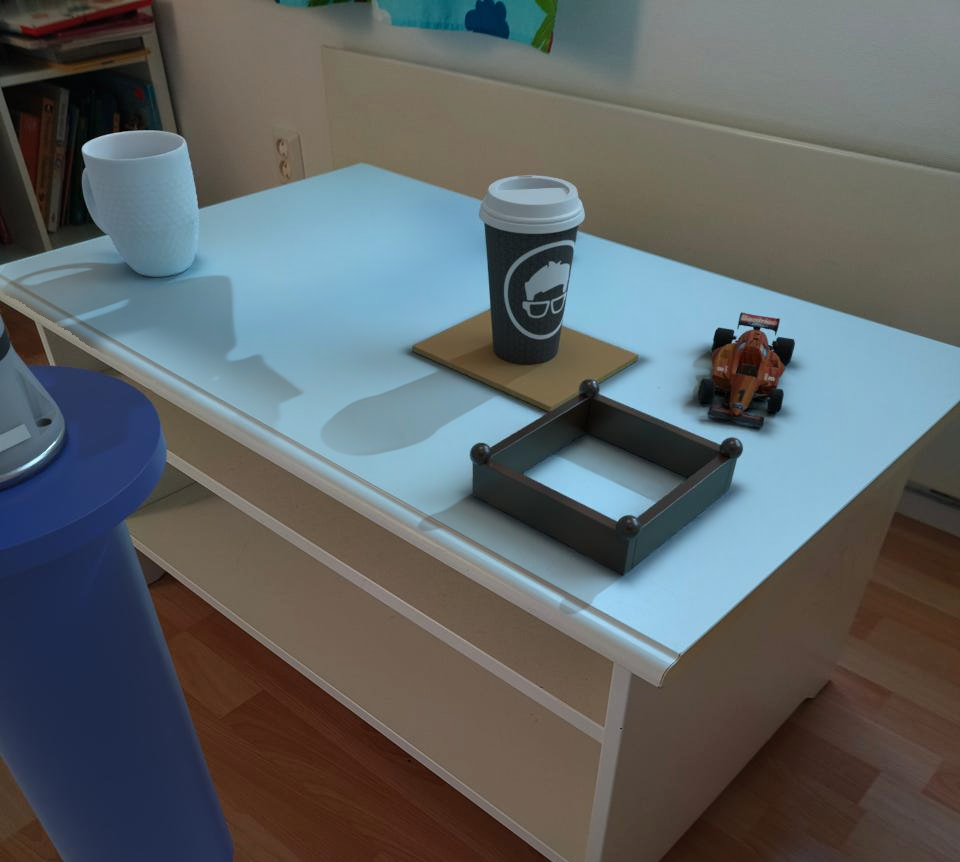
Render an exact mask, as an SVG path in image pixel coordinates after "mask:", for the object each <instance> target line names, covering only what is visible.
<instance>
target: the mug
mask: <svg viewBox="0 0 960 862" xmlns="http://www.w3.org/2000/svg"><path fill="white" fill-rule="evenodd" d="M81 154H82V158H83V162H84V166H85V167H84V169H83V170H82V175H81V188H82V194H83V198H84V202H85V205H86V208H87V210H88V213H89V216H90V217H91V219H92V220H93V223H95V225H96V226H97V227H98V228H99V229H100V230H101V232H102V233H104V234H105V235H107V236H108V237H109V238H110V240H111V242H112V244H113V246H114V247H115V250H117V252H118V254H119V256H120V257H122V259H123V261H124V262H125V263H126V264H127V265H128V266H129V267H130V268H131V269H132V270H133V271H134V272H136V273H137V274H139V275H141V276H145V277H152V278H160V277H161V278H162V277H169V276H173V275H178V274H180V273H183V272H185V271H186V270H189V268H190V267H191V266H192V264H193V262H194V259H195V257H196V253H197V250H198V243H199V235H200V214H199V212H200V209H199V202H198V195H197V188H196V182H195V179H194V173H193V168H192V162H191V159H190V154H189V148H188V144H187V141H186V139H185V138H184V137H183V136H181V135H180V134H177V133H174V132H170V131H163V130H153V129H152V130H147V129H146V130H145V129H144V130H128V131H121V132H113V133H108V134H105V135H101V136H98V137H95V138H93V139H90V140H88V141H87V142H85V143H84V144H83V145H82V147H81Z"/></svg>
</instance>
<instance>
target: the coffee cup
mask: <svg viewBox="0 0 960 862" xmlns="http://www.w3.org/2000/svg"><path fill="white" fill-rule="evenodd" d="M486 192H487V193H486V195H485V196H484V197H483V198H482V200H481V203H480V206H479V210H478V217H479V219H480V220H481V221H482V222H483V224H484V225H483V226H484V236H485V237H484V238H485V251H486V263H487V278H488V291H489V292H488V293H489V307H490V308H489V309H491V323H492V337H493V350H494V353H495V354H496V355H497V356H498V357H499V358H501V359H502V360H504V361H507V362H510V363H515V364H522V365H532V364H540V363H544V362H547V361H549V360H551V359H553V358H554V357H555V356H556V355H557V353H558V348H559V341H560V335H561V329H562V326H563V321H564V316H565V309H566V305H567V304H566V303H567V296H568V291H569V285H570V277H571V272H572V266H573V260H574V254H575V248H576V242H577V235H578V229H579V225H581V224H582V223H583V221H584V220H585V218H586V215H585V209H584V205H583V202H582V200H581V199H580V198H579V193H578V188H577V187H576V186H575V185H574V184H573V183H571V182H570V181H567V180H565V179H561V178H556V177H552V176H545V175H533V174H532V175H531V174H530V175H527V174H526V175H515V176H509V177H504V178H501V179H497V180H496V181H493V182H492V183H491V184H490V185H489V186H488V188H487V191H486Z"/></svg>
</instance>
